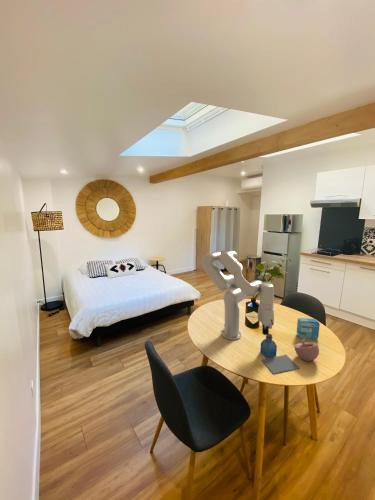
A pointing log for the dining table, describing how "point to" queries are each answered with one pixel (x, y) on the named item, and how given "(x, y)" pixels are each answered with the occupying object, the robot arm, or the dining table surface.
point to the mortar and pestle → (307, 350)
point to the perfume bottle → (268, 347)
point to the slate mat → (280, 364)
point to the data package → (308, 328)
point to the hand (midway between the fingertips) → (265, 333)
